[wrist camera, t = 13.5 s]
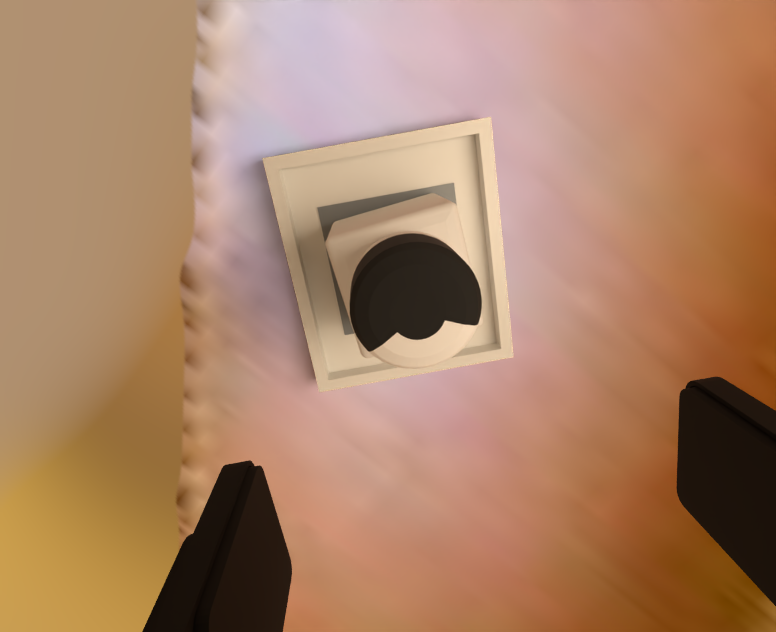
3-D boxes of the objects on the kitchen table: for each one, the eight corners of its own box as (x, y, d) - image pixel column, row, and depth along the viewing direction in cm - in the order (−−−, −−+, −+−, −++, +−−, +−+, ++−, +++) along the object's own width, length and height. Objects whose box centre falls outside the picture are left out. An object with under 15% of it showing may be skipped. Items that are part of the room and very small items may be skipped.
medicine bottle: (330, 221, 31) (314, 258, 20) (435, 191, 31) (479, 210, 20) (362, 320, 34) (363, 404, 22) (460, 292, 33) (512, 362, 22)
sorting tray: (268, 158, 31) (262, 158, 29) (482, 119, 31) (490, 116, 29) (321, 378, 36) (319, 392, 34) (504, 345, 36) (513, 357, 34)
